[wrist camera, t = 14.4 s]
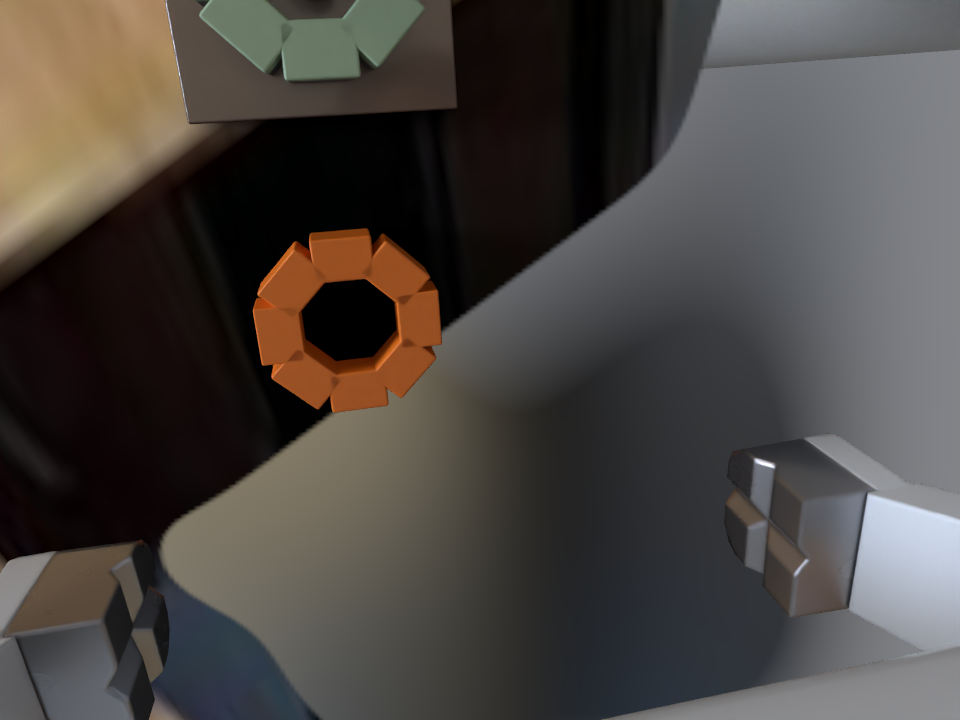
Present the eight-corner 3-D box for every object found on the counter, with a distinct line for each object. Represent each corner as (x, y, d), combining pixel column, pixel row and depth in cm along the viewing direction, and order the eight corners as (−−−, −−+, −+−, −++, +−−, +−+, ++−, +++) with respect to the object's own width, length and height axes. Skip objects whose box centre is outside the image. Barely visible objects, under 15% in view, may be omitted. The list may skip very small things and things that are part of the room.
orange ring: (427, 222, 27) (433, 229, 26) (439, 383, 30) (446, 398, 28) (245, 238, 26) (241, 246, 25) (274, 405, 29) (271, 421, 27)
